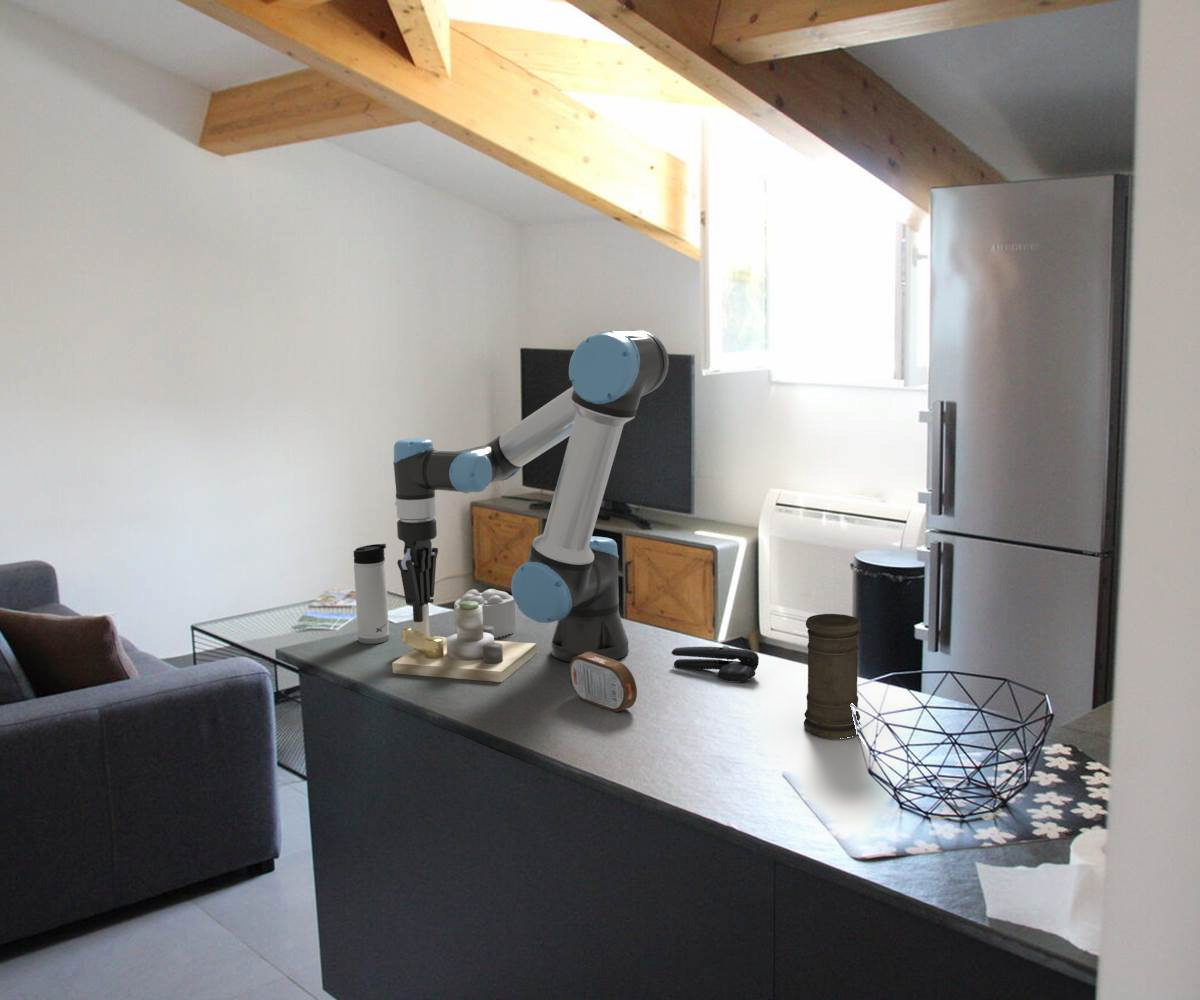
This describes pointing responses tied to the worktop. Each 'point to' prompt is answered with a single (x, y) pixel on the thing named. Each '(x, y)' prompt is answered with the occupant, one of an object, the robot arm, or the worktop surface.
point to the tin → (603, 681)
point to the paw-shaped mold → (493, 610)
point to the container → (832, 675)
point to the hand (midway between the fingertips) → (422, 636)
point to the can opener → (720, 661)
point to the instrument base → (466, 667)
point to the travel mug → (371, 594)
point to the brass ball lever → (423, 642)
